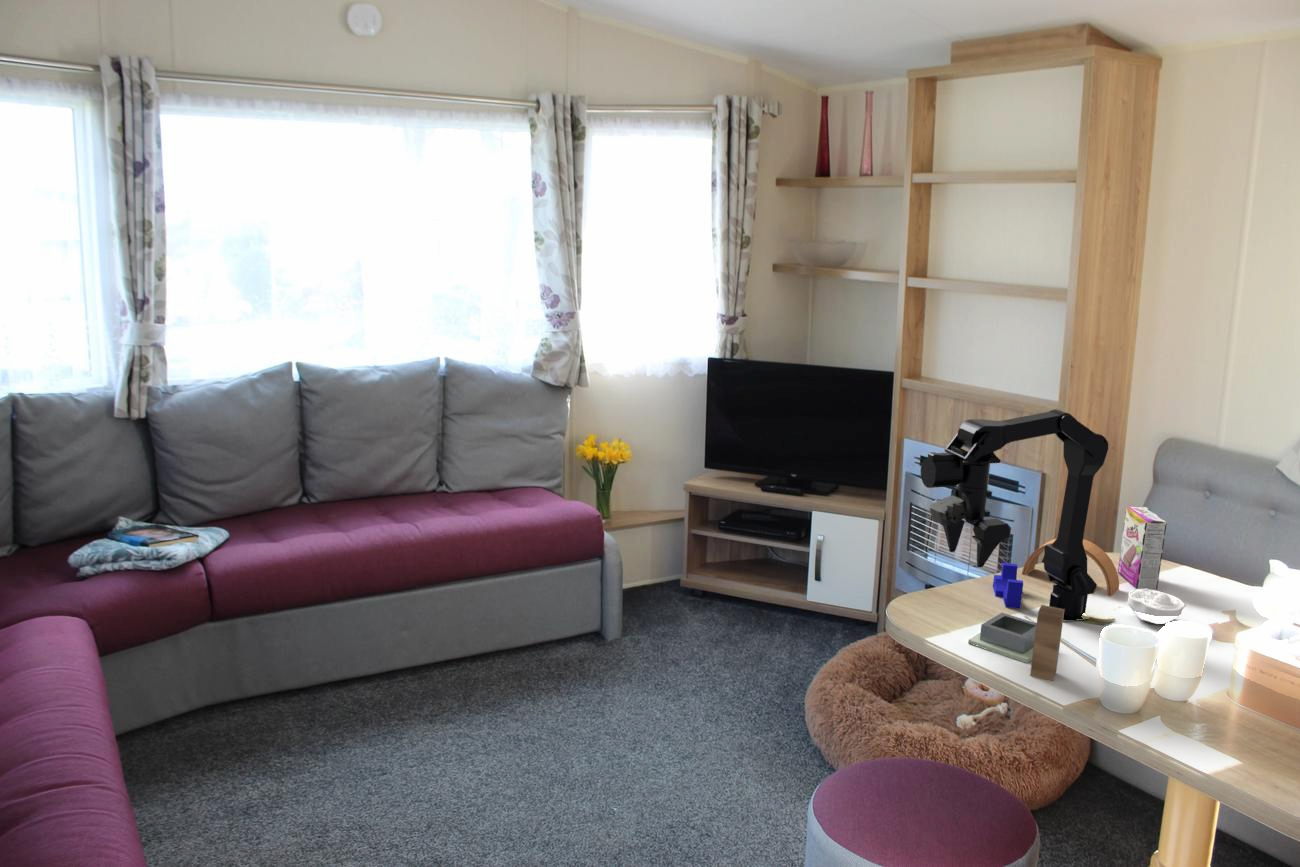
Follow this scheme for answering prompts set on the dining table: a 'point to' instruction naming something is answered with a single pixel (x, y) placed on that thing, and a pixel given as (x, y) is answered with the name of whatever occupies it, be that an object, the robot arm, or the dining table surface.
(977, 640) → the base plate
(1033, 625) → the steel collar
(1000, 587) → the cable clip
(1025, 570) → the arch
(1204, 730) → the dining table surface
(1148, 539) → the candy bar box
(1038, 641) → the walnut post
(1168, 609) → the cell model
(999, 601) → the dining table surface
